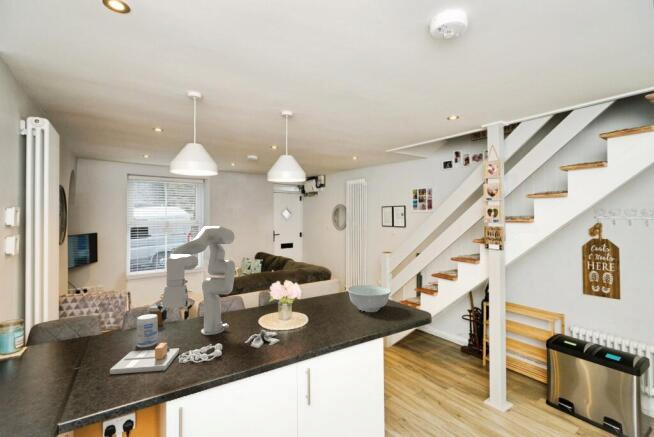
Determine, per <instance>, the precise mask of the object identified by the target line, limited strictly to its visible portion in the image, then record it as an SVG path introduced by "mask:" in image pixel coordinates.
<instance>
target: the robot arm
mask: <svg viewBox="0 0 654 437" xmlns="http://www.w3.org/2000/svg"><path fill="white" fill-rule="evenodd" d="M234 240H235V234H234V232H233V231H232V229H230V228H227V227H224V226H221V225H220V226H219V225H218V226H217V225H216V226H215V225H213V226H212V225H211V226H210V225H209V226H204V227H202V228H200V230H198V232H197V233H196V235H195V236H193V238H192V240H189V241H187V242H185V243H183V244H181V245H179V246H177V247H176V248H174V249H173V251H172V252H170V254H169V255H168V257H167V259H166V285H165V287H164V290H163V295H162V296H163V297H162V299H159V300H158V301H156V302H155V304H154V305H156V306H157V308H158V309H159V310H160V312H161V318H162V321H163V322H165V321H166V320H167V319H168V318H167V317H168V316H167V314H168V313H167V311H168V310H167V309H175V308H178V309H180V308H182V309H183V310H184V312H183V320H184V321H187V320H188V318H190V310H191V308H192V307H194V305H195V303H196V301H195V300H194V299H192V298H190V297H189V293H188V287H187V284H188V280H187V279H186V278H185V271H191V270H194V269H196V267H198V264H199V259H198V257H197V256H196V255H197V254H200V253H202V252H205V250H206V249H207V248H209V251H210V252H209V253H210V254H209V260H208V265H207V272H208V275H210V276H214V277H207V278H205V279H204V280H203V281H202V283H201V289H202V290H201V291H202V295H203V328H202V329H200V334H202V335H205V336H212V335H218V334H220V333H222V332H224V330H225V329H229V324H228V323H223V321H222V300H221V297H220V295H229V294H231V293H232V291H233V288H234V283H235V282H234V281H235V275H236V263H235V261H233V260H232V259H225V256H226V250H225V248H224V246H222V245H231V244H233V243H234ZM215 276H224V277H215ZM189 303H190V304H189ZM160 304H163V307H162V306H161V305H160ZM188 304H189V305H188Z"/></svg>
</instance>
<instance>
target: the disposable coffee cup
mask: <svg viewBox="0 0 654 437" xmlns="http://www.w3.org/2000/svg"><path fill="white" fill-rule="evenodd" d="M160 305H161V306H162V307H163V303H160ZM147 310H148V312H149V313H148V314H156V315H157V318H158V327H160V326H162V325H164V321H162V318H161V312H160V310H159V309H158V308H157V306H156V304H153V305H150V306H149V307H148V309H147Z"/></svg>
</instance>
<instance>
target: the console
mask: <svg viewBox="0 0 654 437" xmlns="http://www.w3.org/2000/svg"><path fill="white" fill-rule="evenodd" d="M178 354H180V348H178V347H176V348H171V347H170V346H167V354H166V355H165V356H164V357H163V358H162V359H155V349H149V350H145V349H144V350H133V351H129V352H128V353H127V355H125V356H123V358H122V359H120V360H119V361H118V362H117V363H115V364H114V365H113V366H112V367H111V368H110V369H109V375H119V374H131V373H133V374H134V373H143V372H147V373H148V372H156V371H166V370H167V369H168V367H169V366H170V365H171V363H172V362H173V361H174V359H176V358H177V356H178Z"/></svg>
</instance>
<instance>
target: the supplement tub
mask: <svg viewBox="0 0 654 437" xmlns="http://www.w3.org/2000/svg"><path fill="white" fill-rule="evenodd" d="M158 327H159V326H158V318H157V315H156V314H149V313H148V314H142V315H140V316H137V318H136V346H137V347H138V348H148V347H152V346H154V345H156V344H157V343H158V330H159V328H158Z"/></svg>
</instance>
